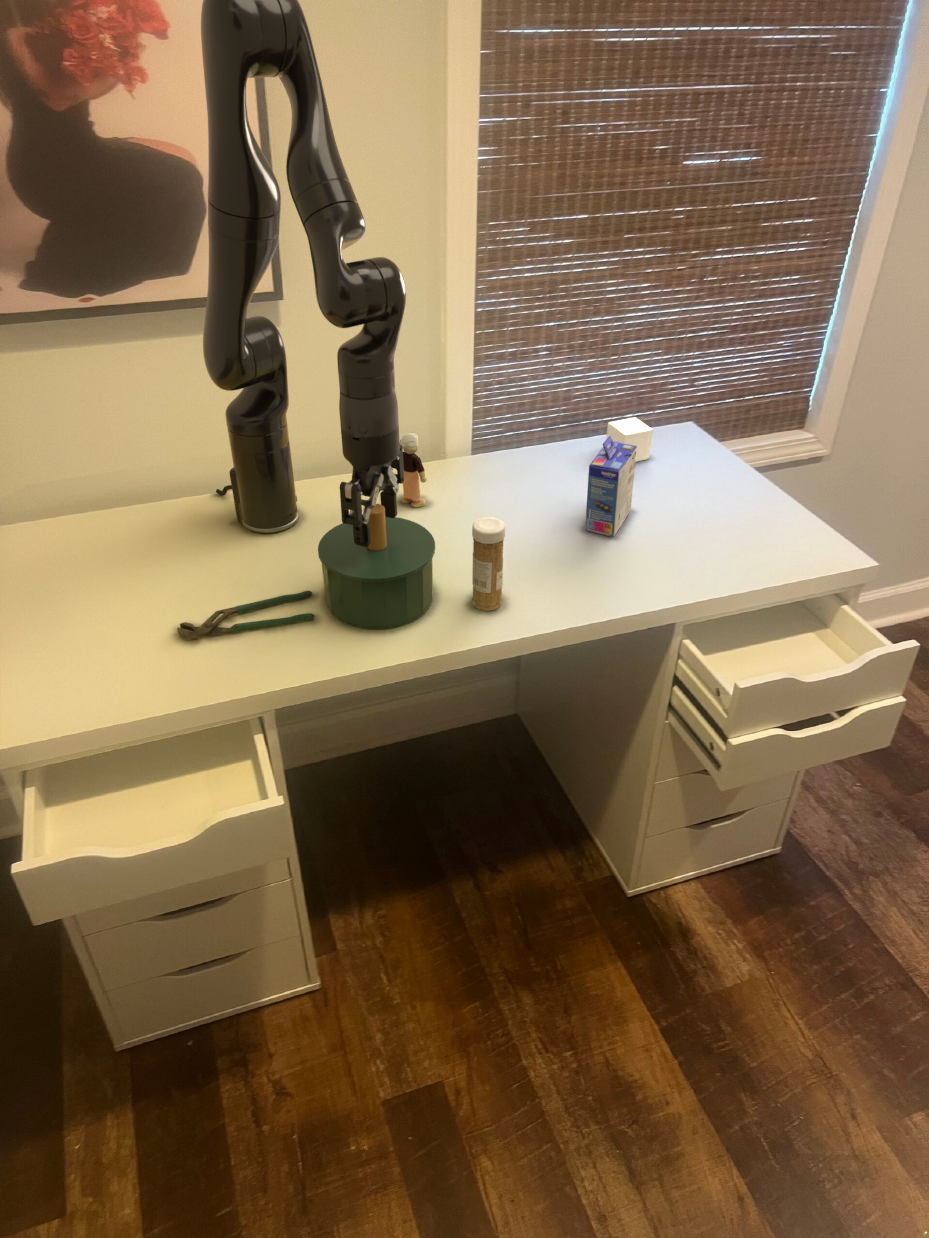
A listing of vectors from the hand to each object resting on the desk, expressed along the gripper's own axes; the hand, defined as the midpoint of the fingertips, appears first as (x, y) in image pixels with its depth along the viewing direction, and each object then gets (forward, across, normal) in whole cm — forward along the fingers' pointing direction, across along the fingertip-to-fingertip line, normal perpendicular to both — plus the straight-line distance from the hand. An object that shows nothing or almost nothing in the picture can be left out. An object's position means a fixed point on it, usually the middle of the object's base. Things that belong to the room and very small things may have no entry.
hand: (376, 530), depth 127 cm
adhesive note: (+12, -60, +22) cm, 65 cm away
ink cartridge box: (+12, -35, +25) cm, 45 cm away
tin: (+12, 0, 0) cm, 12 cm away
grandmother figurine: (+12, -28, -8) cm, 31 cm away
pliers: (+12, +12, -15) cm, 23 cm away
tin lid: (+3, 0, 0) cm, 3 cm away
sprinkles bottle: (+12, -5, +15) cm, 20 cm away
